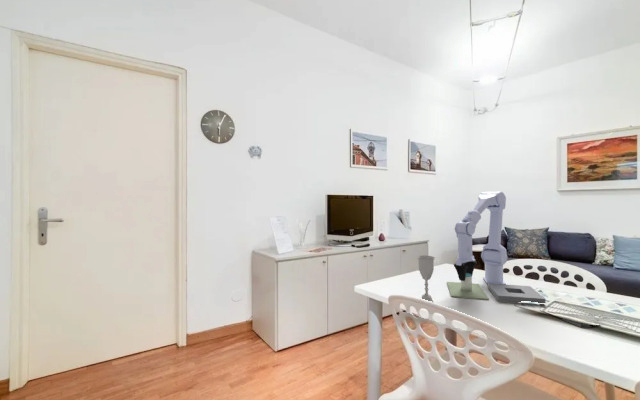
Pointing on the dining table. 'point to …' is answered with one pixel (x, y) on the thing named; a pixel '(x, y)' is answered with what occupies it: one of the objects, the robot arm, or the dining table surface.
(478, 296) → the mat
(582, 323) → the phone
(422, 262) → the chalice
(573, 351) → the dining table surface
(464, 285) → the cylinder
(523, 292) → the housing
